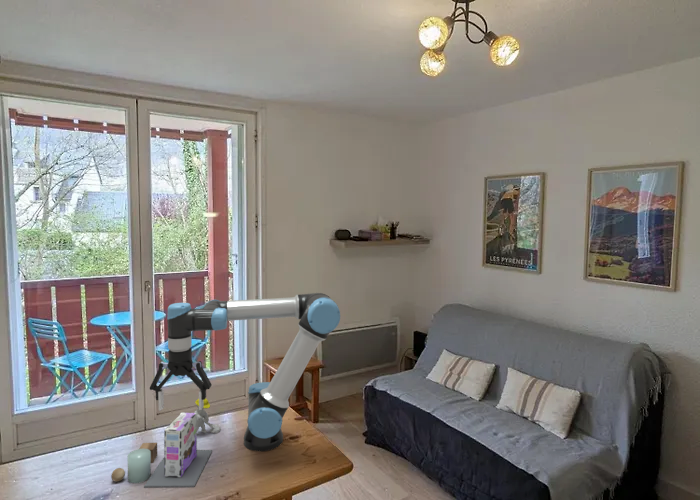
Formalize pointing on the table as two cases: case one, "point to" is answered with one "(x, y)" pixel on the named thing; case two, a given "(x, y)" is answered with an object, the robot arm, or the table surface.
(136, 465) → the pale green rounded cylinder
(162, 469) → the felt mat
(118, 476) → the cork ball
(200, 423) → the figurine
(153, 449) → the walnut block
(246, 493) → the table surface
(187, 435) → the candy box
